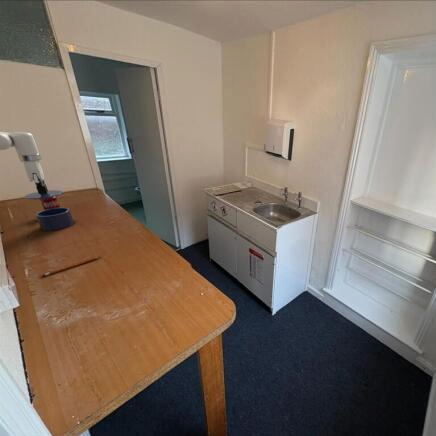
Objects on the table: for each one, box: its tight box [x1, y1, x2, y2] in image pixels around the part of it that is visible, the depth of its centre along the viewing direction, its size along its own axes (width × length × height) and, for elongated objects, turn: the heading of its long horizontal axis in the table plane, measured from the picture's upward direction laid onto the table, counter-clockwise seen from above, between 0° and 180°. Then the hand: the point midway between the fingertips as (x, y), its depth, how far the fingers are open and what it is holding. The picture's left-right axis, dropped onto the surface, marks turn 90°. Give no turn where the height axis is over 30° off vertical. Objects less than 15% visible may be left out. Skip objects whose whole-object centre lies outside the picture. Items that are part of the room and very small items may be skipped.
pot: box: [35, 207, 75, 232], centre depth 132 cm, size 14×14×8 cm
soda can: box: [39, 196, 61, 211], centre depth 145 cm, size 7×7×12 cm
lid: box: [23, 183, 63, 200], centre depth 124 cm, size 15×15×7 cm
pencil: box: [42, 256, 100, 277], centre depth 100 cm, size 1×19×1 cm, turn 140°
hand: (43, 192), depth 125 cm, fingers closed on lid, 3 cm apart
